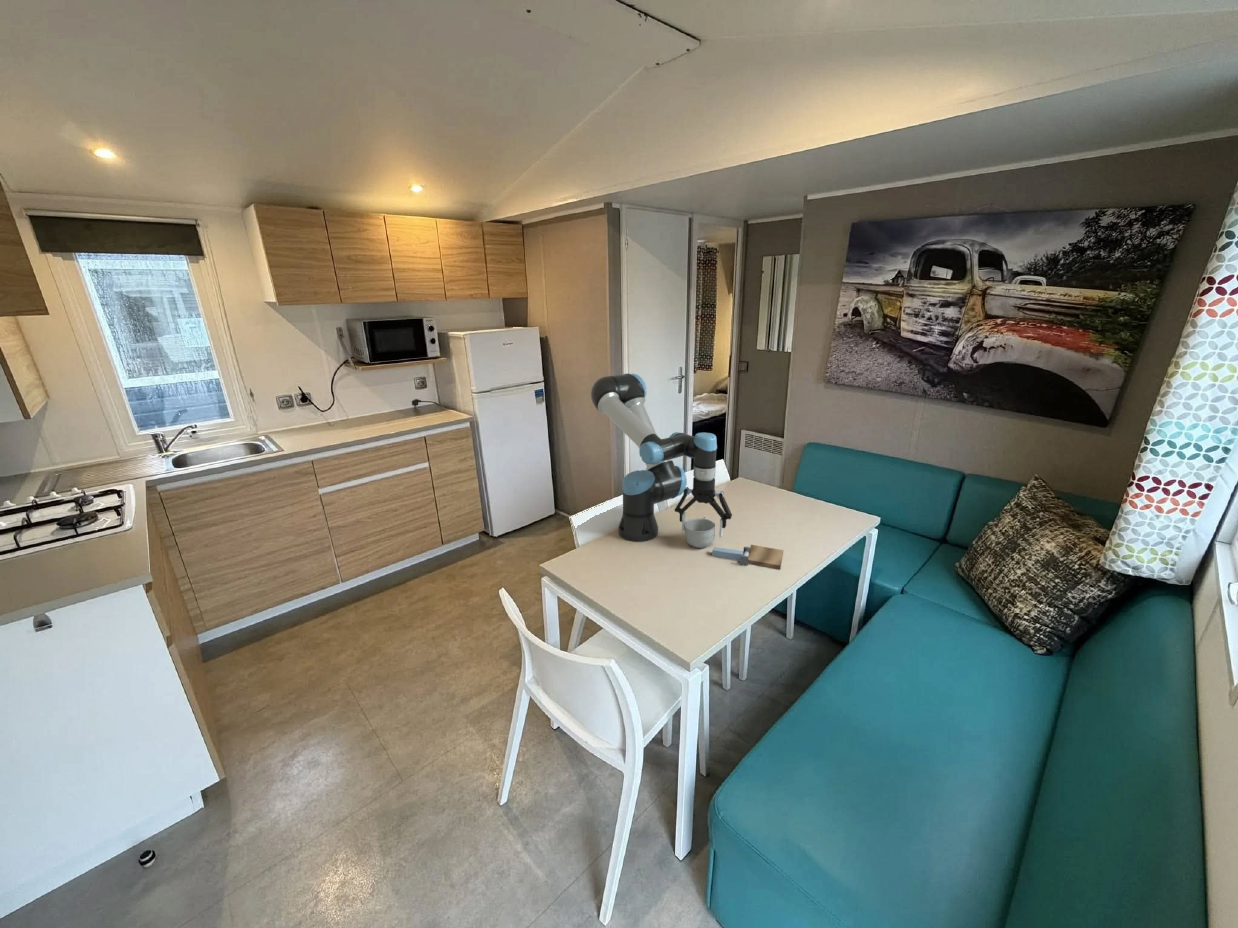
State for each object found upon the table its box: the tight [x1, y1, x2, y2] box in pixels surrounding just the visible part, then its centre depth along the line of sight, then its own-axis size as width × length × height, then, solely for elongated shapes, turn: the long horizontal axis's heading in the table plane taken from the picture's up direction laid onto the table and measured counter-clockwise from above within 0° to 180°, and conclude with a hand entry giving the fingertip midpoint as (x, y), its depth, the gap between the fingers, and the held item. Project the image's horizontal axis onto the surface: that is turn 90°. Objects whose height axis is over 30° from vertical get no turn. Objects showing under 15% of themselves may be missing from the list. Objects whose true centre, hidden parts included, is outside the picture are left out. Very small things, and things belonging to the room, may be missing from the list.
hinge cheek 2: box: [739, 555, 749, 567], centre depth 160 cm, size 2×1×3 cm, turn 67°
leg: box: [711, 546, 749, 562], centre depth 165 cm, size 12×5×3 cm, turn 68°
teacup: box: [684, 516, 716, 549], centre depth 175 cm, size 14×11×8 cm
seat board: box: [748, 544, 784, 570], centre depth 164 cm, size 11×11×1 cm
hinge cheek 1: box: [742, 546, 751, 555], centre depth 166 cm, size 2×1×3 cm, turn 67°
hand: (702, 532), depth 174 cm, fingers open, 13 cm apart
